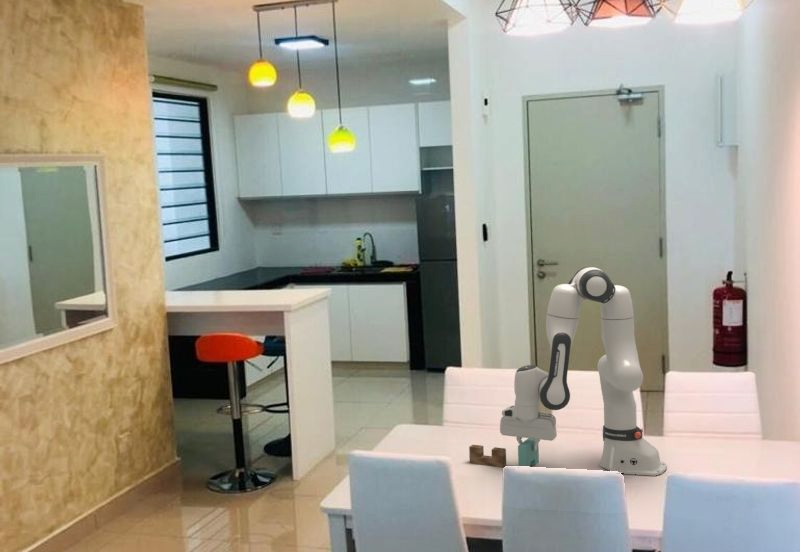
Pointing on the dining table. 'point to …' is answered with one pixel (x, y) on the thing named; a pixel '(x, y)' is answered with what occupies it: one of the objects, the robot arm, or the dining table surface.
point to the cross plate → (527, 453)
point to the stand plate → (479, 457)
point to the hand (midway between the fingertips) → (528, 449)
